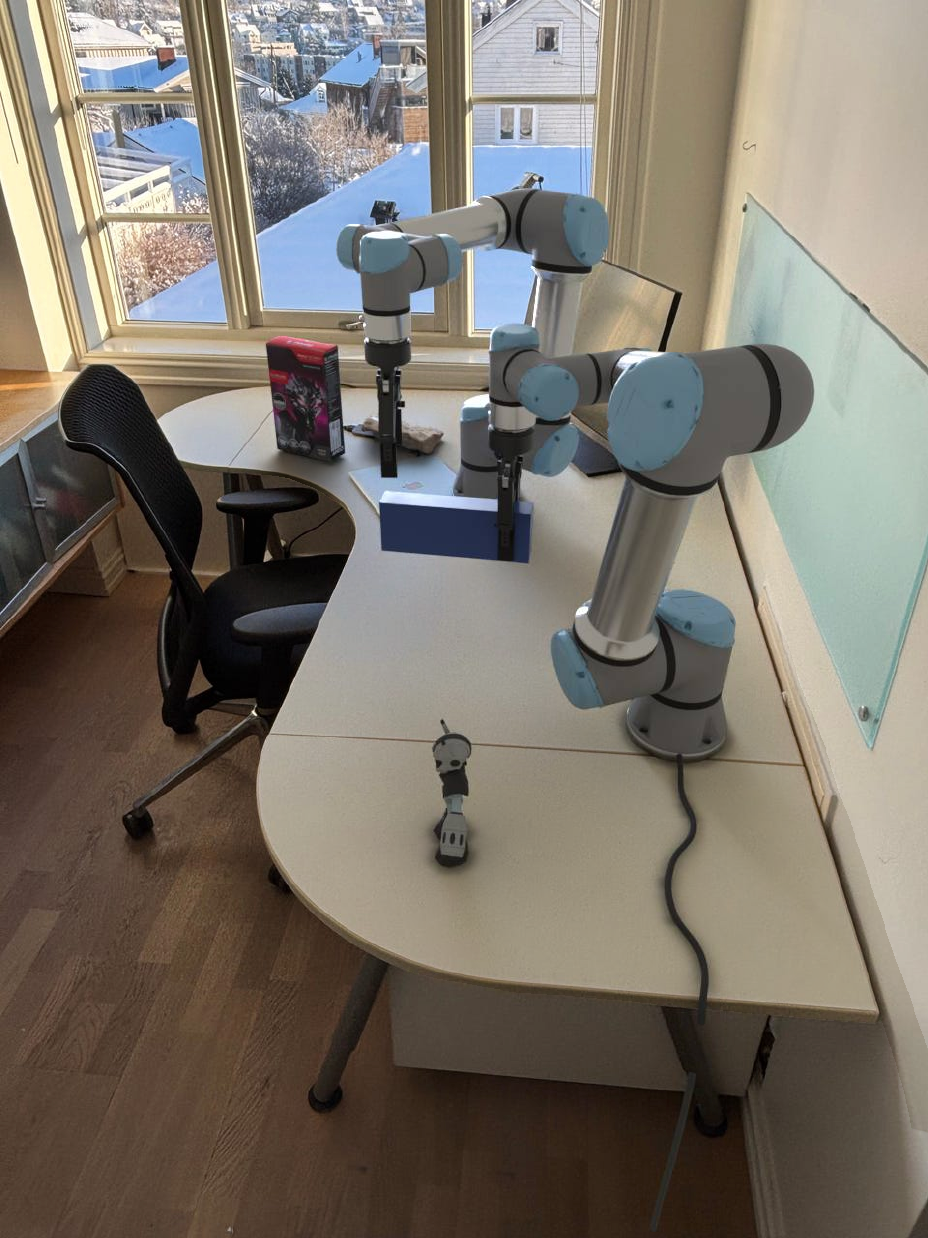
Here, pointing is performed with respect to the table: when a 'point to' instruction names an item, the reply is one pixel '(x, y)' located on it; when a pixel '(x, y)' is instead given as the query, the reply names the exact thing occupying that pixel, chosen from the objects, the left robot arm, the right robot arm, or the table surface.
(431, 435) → the stone
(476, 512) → the bar
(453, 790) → the robot
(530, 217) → the left robot arm
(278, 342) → the graphics card box
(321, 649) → the table surface
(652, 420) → the right robot arm
